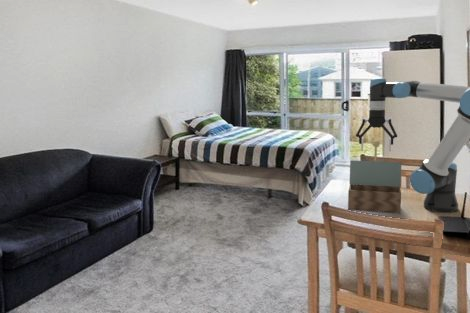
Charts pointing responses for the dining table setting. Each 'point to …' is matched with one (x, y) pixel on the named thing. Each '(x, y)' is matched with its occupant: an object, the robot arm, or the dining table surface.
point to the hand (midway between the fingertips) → (375, 150)
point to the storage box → (374, 198)
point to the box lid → (375, 172)
